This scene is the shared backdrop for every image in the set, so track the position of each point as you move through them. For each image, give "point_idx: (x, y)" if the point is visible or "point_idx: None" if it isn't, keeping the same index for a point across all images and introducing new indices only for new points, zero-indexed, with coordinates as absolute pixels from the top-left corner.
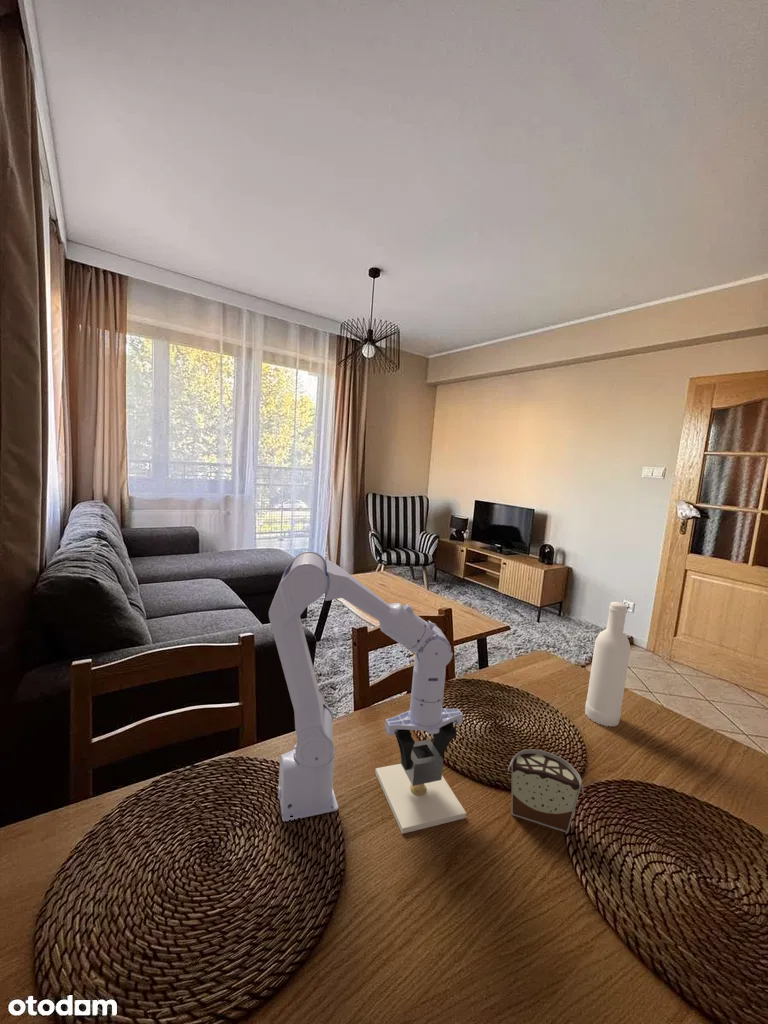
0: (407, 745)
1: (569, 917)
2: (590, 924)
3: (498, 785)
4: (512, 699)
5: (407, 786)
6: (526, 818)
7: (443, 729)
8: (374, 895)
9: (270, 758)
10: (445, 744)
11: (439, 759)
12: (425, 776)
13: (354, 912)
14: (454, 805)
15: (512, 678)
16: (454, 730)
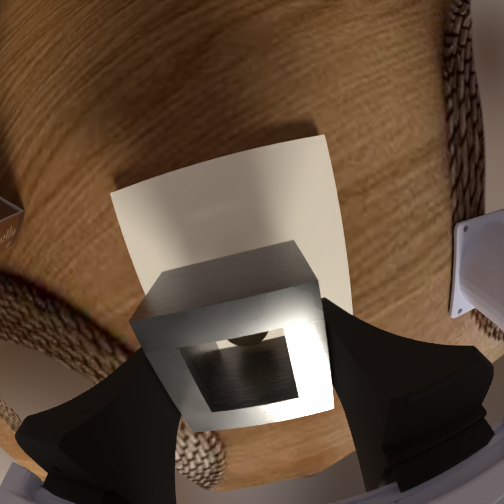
0: (435, 360)
1: (32, 15)
2: (16, 18)
3: (40, 296)
4: None
5: None
6: (4, 200)
7: (91, 480)
8: (387, 15)
9: (498, 343)
10: (100, 393)
11: (149, 322)
12: (235, 265)
13: (416, 6)
14: (138, 220)
15: None
16: (25, 449)
